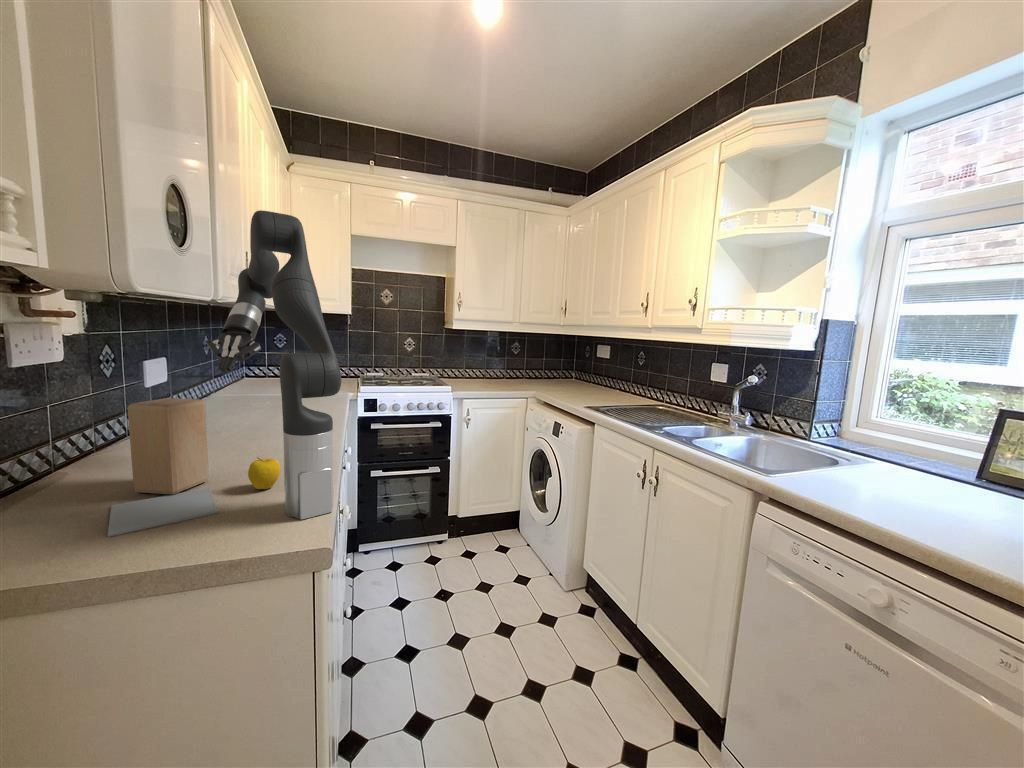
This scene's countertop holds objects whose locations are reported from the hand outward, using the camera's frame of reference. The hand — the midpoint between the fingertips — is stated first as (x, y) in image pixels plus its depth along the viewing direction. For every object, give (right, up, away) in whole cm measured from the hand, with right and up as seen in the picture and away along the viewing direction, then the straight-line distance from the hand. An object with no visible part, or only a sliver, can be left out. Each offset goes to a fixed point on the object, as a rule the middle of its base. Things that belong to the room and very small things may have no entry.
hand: (224, 371), depth 104 cm
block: (-5, -27, -10) cm, 29 cm away
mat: (+3, -29, -21) cm, 36 cm away
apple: (+15, -28, -8) cm, 33 cm away
